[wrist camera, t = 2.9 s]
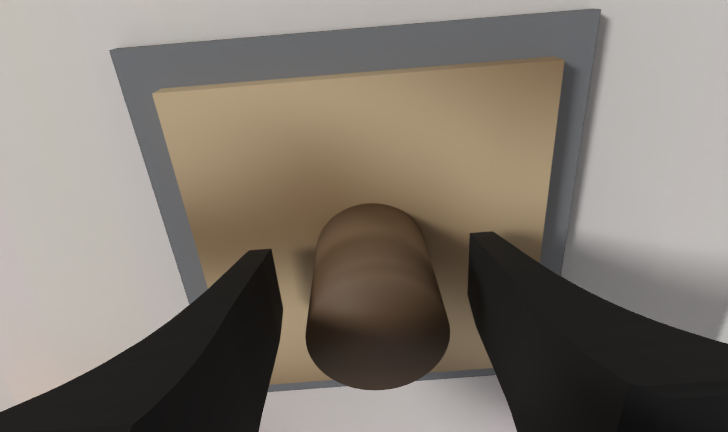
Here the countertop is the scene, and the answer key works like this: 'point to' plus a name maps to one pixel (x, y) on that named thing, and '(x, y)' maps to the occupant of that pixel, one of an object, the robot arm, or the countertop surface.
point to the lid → (368, 202)
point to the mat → (351, 55)
